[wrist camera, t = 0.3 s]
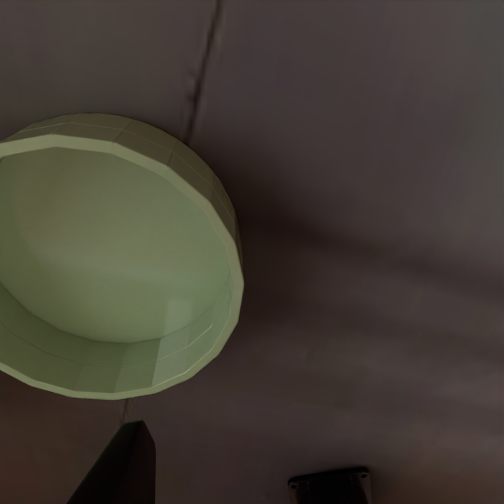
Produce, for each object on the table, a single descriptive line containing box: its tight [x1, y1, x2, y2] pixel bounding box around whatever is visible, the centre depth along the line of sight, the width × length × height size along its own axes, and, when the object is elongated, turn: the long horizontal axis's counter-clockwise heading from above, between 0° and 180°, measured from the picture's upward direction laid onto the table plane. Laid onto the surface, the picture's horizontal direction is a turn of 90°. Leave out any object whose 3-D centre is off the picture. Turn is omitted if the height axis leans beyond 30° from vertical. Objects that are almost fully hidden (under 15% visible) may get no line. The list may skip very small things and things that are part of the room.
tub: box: [0, 113, 244, 400], centre depth 21 cm, size 14×14×4 cm
